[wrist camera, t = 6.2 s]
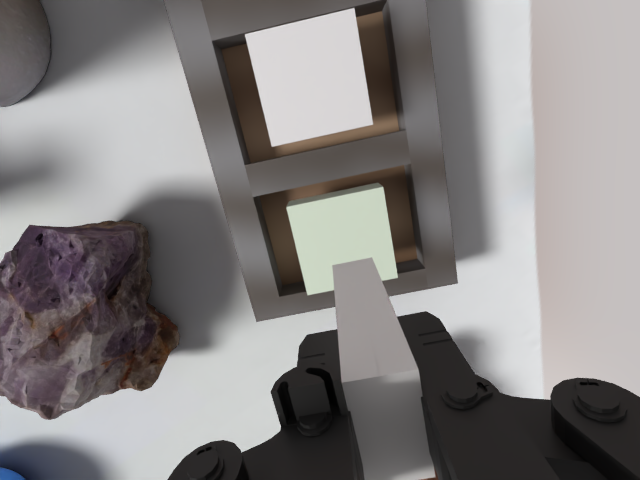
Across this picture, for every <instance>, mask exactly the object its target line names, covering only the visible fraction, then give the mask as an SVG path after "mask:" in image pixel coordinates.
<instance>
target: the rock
mask: <svg viewBox="0 0 640 480" xmlns="http://www.w3.org/2000/svg"><path fill="white" fill-rule="evenodd" d="M149 258H150V248H149V245H148V232H147V230H146V228H145V227H144V226H143V225H142V224H141V223H134V222H131V221H120V222H114V221H105V222H101V223H98V224H96V223H92V224H86V225H82V226H74V227H51V226H35V225H29V226H28V228H27V229H26V230H25V232H24V233H23V234H22V236H21V238H20V240H19V241H18V243H17V244H16V245H15V246H14V248H13V250H12V251H9V252H7V253H5V255H4V258H3V260H2V261H1V263H0V396H6V397H7V399H8V400H9V401H10V402H11V403H12V404H14V405H17V406H18V407H20V408H24V409H27V410H31V411H34V412H37V413H38V414H39V415H40V416H41V417H42V418H44V419H48V420H51V419H55V418H57V417H59V416H60V415H62V414H63V413H66V412H68V411H71V410H73V409H77V408H79V407H81V406H82V405H83V404H85V403H87V402H89V401H91V400H92V399H95V398H97V397H99V396H100V395H107V394H113V393H114V392H116V391H118V390H120V389H127V388H133V389H135V390H138V391H143V390H145V389H148V388H150V387H152V385H153V384H154V383H155V382H156V380H157V379H158V377H159V375H160V373H161V370H162V368H163V366H164V364H165V362H166V361H167V358H168V355H169V354H170V352H171V351H172V350H173V349H174V348H176V347H177V345H178V344H179V342H178V341H179V338H180V336H179V333H178V327H177V326H176V325H175V324H173V323H172V322H171V321H170V319H169V318H168V317H167V316H165V315H163V314H161V313H158V312H156V311H155V307H153V306H152V305H150V304H148V303H147V300H148V297H149V293H150V288H151V283H152V280H151V277H150V274H149V273H148V272H147V271H146V269H147V260H148V259H149Z"/></svg>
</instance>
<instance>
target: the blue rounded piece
mask: <svg viewBox="0 0 640 480" xmlns="http://www.w3.org/2000/svg"><path fill="white" fill-rule="evenodd" d="M0 480H26V479H25V478H24V477H22V476H21V475H20V474H18V473H16V472H14V471H12V470H9V469H5V468H0Z"/></svg>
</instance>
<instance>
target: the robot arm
mask: <svg viewBox="0 0 640 480" xmlns="http://www.w3.org/2000/svg"><path fill="white" fill-rule="evenodd" d="M332 268H333V280H334V293H335V306H336V318H337V329H336V330H330V331H325V332H320V333H314V334H309V335H307V336H306V337H305V339H304V340H303V341H302V343H301V344H300V346H299V353H298V362H297V367H295V368H293V369H291V370H290V371H288V372H286V373H285V374H283V375H282V376H281V377H280V378H279V379H278V380H277V381H276V382H275V384H274V386H273V388H272V390H271V394H272V398H273V401H274V404H275V408H276V411H277V414H278V418H279V421H280V424H281V431H280V432H279V433H277V434H276V435H275V436H274V437H272V438H271V439H269V440H267V441H266V442H264V443H262V444H260V445H258V446H255V447H253V448H251V449H249V450H247V451H244V452H242V453H241V450H240V449H239V448H238V447H237V446H236V445H235V444H234V443H232V442H229V441H225V440H221V441H214V442H210V443H207V444H205V445H203V446H200V447H198V448H197V449H195V450H194V451H193V452H191V453H190V454H189V455H187V456H186V457H185V458H184V459H183V460H182V461H181V462H180V463H179V465H178V466H177V467H176V468H175V469H174V471H173V472H172V474H171V475H170V477H169V478H168V480H421V479H427V478H433V477H435V471H434V467H435V470H436V473H437V476H438V479H439V480H640V397H639V396H637V395H635V394H633V393H631V392H630V391H628V390H626V389H623V388H622V387H619V386H617V385H615V384H613V383H609V382H605V381H601V380H597V379H589V378H574V379H569V380H564V381H562V382H560V383H559V384H557V385H556V386H555V387H554V388H553V390H552V393H551V400H544V399H530V398H520V397H513V396H509V395H505V394H502V393H500V392H499V391H498V389H497V388H496V387H495V386H493V385H492V384H491V383H490V382H489V381H488V380H486V379H484V378H482V377H480V376H478V375H475V373H474V372H473V370H472V369H471V367H470V366H469V364H468V363H467V361H466V359H465V358H464V356H463V355H462V353H461V352H460V350H459V349H458V347H457V345H456V344H455V342H454V341H452V338H451V336H450V335H449V333H448V332H447V331H446V328H445V327H444V325H443V324H442V322H441V321H440V319H439V318H437V317H435V316H434V315H432V314H430V313H428V312H427V311H425V312H420V313H415V314H409V315H404V316H399V317H397V316H396V314H395V311H394V309H393V307H392V304H391V302H390V299H389V297H388V295H387V292H386V290H385V287H384V285H383V282H382V280H381V278H380V275H379V273H378V270H377V268H376V266H375V263H374V261H373V258H372V257H371V258H366V259H361V260H356V261H351V262H346V263H341V264H336V265H332Z"/></svg>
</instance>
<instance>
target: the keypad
mask: <svg viewBox="0 0 640 480" xmlns="http://www.w3.org/2000/svg"><path fill="white" fill-rule="evenodd" d="M164 4H165V7H166V11H167V14H168V18H169V21H170V24H171V28H172V31H173V35H174V38H175V42H176V45H177V49H178V52H179V56H180V59H181V62H182V66H183V69H184V73H185V76H186V80H187V83H188V87H189V90H190V94H191V97H192V101H193V104H194V107H195V111H196V114H197V118H198V121H199V125H200V128H201V132H202V135H203V139H204V142H205V145H206V149H207V152H208V156H209V159H210V163H211V166H212V170H213V173H214V177H215V180H216V183H217V187H218V190H219V194H220V197H221V201H222V204H223V208H224V211H225V215H226V218H227V222H228V225H229V228H230V232H231V235H232V239H233V242H234V246H235V249H236V253H237V256H238V260H239V263H240V266H241V270H242V273H243V277H244V280H245V284H246V287H247V291H248V294H249V298H250V301H251V304H252V308H253V311H254V315H255V318H256V322H258V321H263V320H268V319H274V318H279V317H284V316H289V315H295V314H300V313H305V312H310V311H316V310H321V309H326V308H331V307H336V306H335V293H334V290H332V291H327V292H322V293H317V294H312V295H307V291H306V287H305V283H304V279H303V275H302V271H301V266H300V262H299V258H298V254H297V250H296V246H295V241H294V237H293V233H292V229H291V225H290V221H289V216H288V212H287V208H286V207H287V205H288V203H289V201H293V200H297V199H302V198H307V197H312V196H316V195H321V194H326V193H331V192H335V191H340V190H345V189H350V188H354V187H359V186H364V185H369V184H373V183H379V184H380V185H382V186H383V188H384V194H385V201H386V207H387V213H388V219H389V225H390V232H391V238H392V244H393V250H394V256H395V262H396V269H397V275H398V278H394V279H389V280H384V281H382V282H383V285H384V287H385V290H386V292H387V295H388V297H389V296H394V295H399V294H405V293H410V292H415V291H420V290H426V289H431V288H436V287H441V286H447V285H452V284H457V283H458V281H457V272H456V263H455V254H454V245H453V236H452V227H451V219H450V210H449V201H448V192H447V183H446V174H445V165H444V157H443V148H442V139H441V130H440V121H439V112H438V103H437V95H436V86H435V77H434V68H433V59H432V50H431V41H430V33H429V24H428V15H427V6H426V0H164ZM352 8H354V9H355V15H356V21H357V28H358V34H359V40H360V46H361V52H362V59H363V65H364V71H365V77H366V83H367V89H368V96H369V102H370V108H371V114H372V120H373V125H370V126H366V127H361V128H356V129H352V130H347V131H343V132H338V133H334V134H329V135H325V136H320V137H316V138H311V139H306V140H302V141H297V142H293V143H288V144H284V145H279V146H274V147H272V146H271V142H270V137H269V133H268V129H267V125H266V121H265V117H264V112H263V108H262V104H261V100H260V96H259V92H258V87H257V83H256V79H255V75H254V71H253V67H252V62H251V58H250V54H249V50H248V46H247V42H246V37H245V34H248V33H252V32H256V31H260V30H264V29H269V28H273V27H277V26H281V25H285V24H289V23H294V22H298V21H302V20H306V19H310V18H314V17H319V16H323V15H327V14H331V13H335V12H339V11H343V10H348V9H352Z"/></svg>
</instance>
